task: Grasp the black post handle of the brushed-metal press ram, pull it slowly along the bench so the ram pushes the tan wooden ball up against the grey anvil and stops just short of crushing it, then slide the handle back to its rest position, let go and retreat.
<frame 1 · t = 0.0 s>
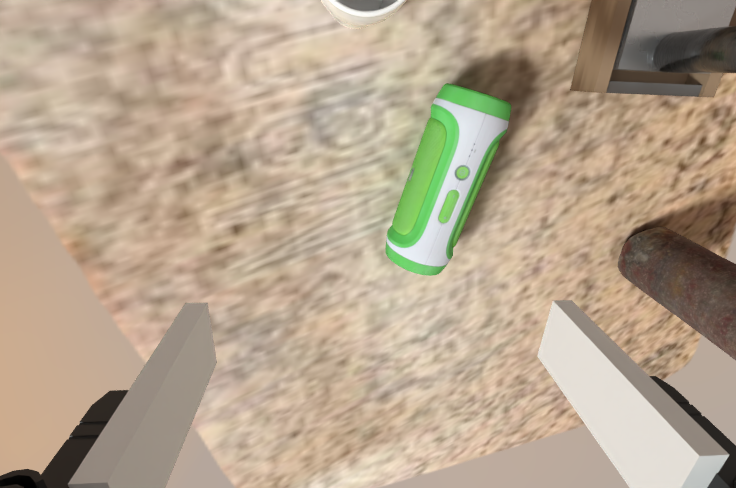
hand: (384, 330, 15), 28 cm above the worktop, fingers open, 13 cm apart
speaker: (433, 174, 41), on the worktop
ram: (721, 22, 29), point 8 cm above the worktop, slide at 0.0 cm
candle: (638, 250, 47), on the worktop
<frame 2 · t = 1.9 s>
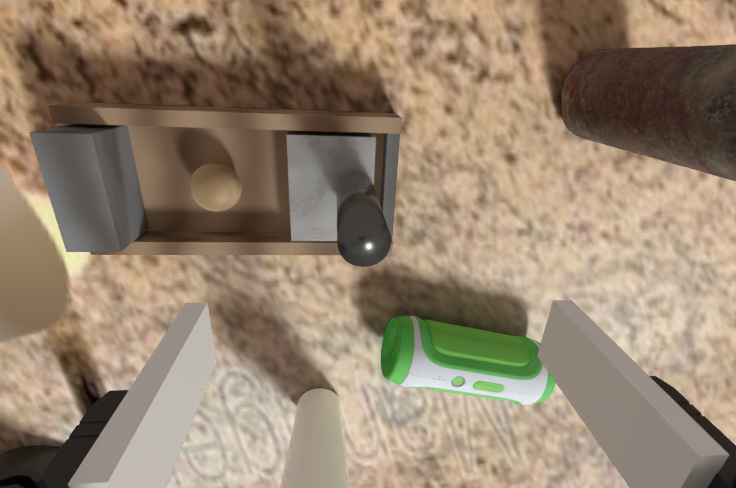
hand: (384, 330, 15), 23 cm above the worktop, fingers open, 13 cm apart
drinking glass: (319, 400, 47), on the worktop
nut: (216, 187, 32), point 3 cm above the worktop, touching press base
speaker: (455, 336, 45), on the worktop
ram: (331, 207, 28), point 8 cm above the worktop, slide at 0.0 cm
candle: (591, 96, 35), on the worktop
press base: (249, 177, 35), on the worktop
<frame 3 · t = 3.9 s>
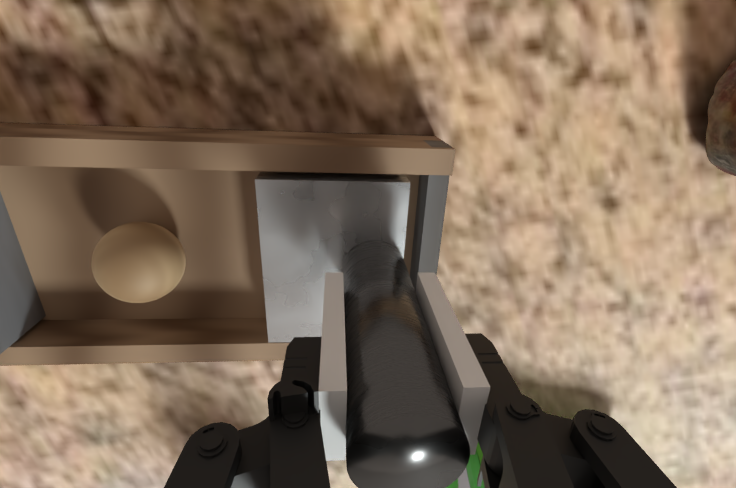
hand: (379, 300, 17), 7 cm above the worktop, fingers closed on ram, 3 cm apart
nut: (141, 262, 19), point 3 cm above the worktop, touching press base
speaker: (506, 438, 32), on the worktop
ram: (334, 315, 15), point 8 cm above the worktop, slide at 0.0 cm, touching gripper
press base: (204, 234, 22), on the worktop
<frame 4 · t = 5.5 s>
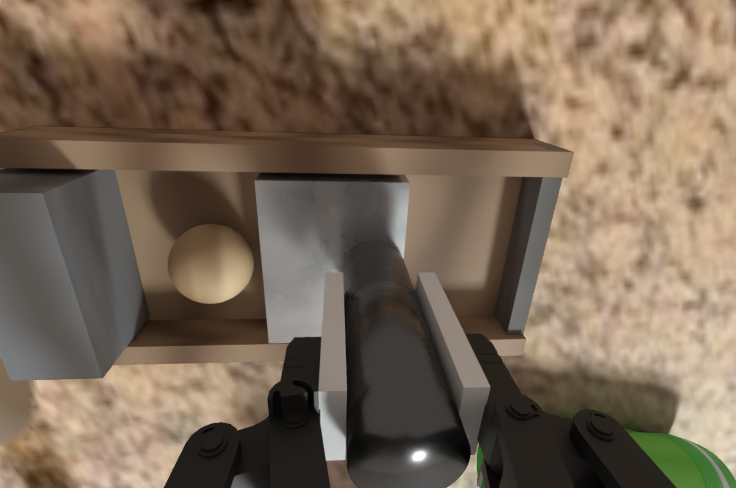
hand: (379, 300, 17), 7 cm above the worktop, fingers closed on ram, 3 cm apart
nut: (212, 263, 19), point 3 cm above the worktop, tilted 64°, touching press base
speaker: (572, 434, 33), on the worktop
ram: (334, 316, 15), point 8 cm above the worktop, slide at 5.7 cm, touching gripper
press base: (303, 236, 23), on the worktop
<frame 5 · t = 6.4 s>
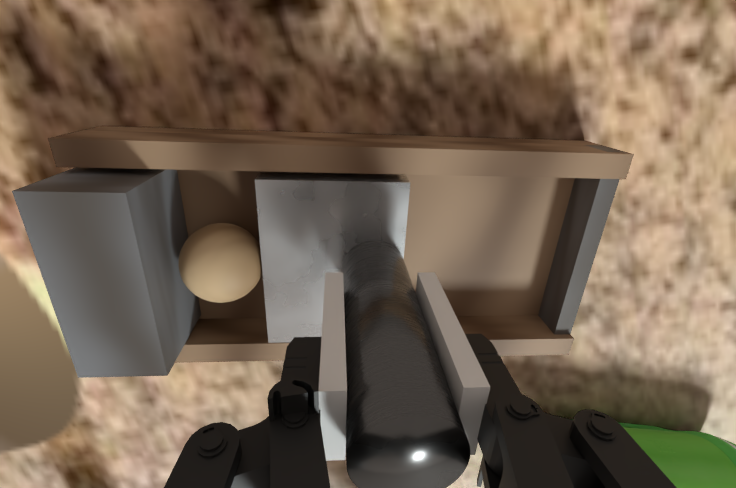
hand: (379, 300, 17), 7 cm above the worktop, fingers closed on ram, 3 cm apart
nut: (222, 262, 19), point 3 cm above the worktop, tilted 134°, touching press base
speaker: (604, 433, 33), on the worktop
ram: (334, 315, 15), point 8 cm above the worktop, slide at 8.6 cm, touching gripper
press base: (353, 236, 23), on the worktop
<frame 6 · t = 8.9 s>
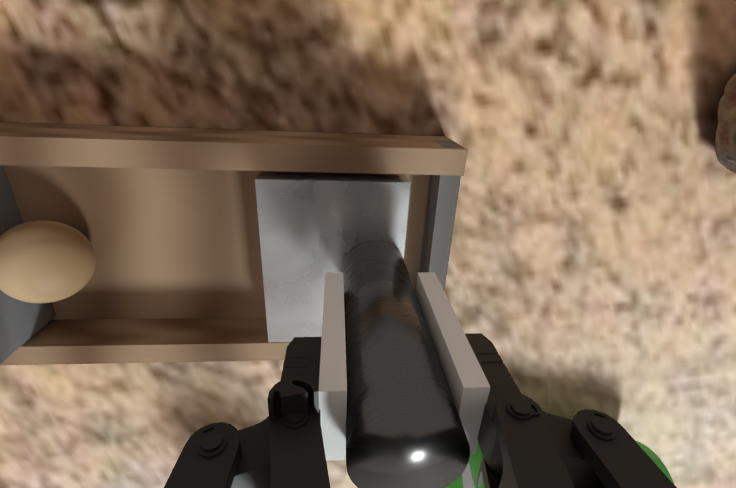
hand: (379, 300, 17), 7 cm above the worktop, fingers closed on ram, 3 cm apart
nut: (45, 261, 18), point 3 cm above the worktop, tilted 142°, touching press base
speaker: (514, 434, 32), on the worktop
ram: (334, 315, 15), point 8 cm above the worktop, slide at 0.5 cm, touching gripper
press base: (214, 234, 22), on the worktop
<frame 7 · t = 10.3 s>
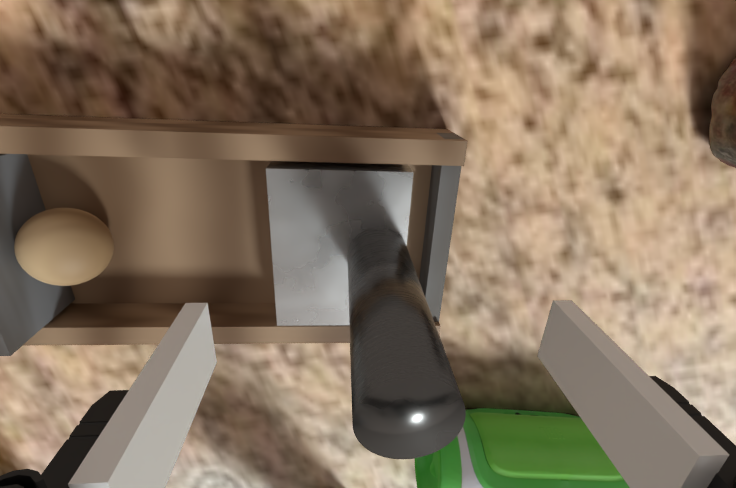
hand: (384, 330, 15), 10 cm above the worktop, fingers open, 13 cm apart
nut: (67, 246, 20), point 3 cm above the worktop, tilted 142°, touching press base
speaker: (514, 421, 33), on the worktop
ram: (340, 296, 16), point 8 cm above the worktop, slide at 0.5 cm
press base: (225, 223, 23), on the worktop
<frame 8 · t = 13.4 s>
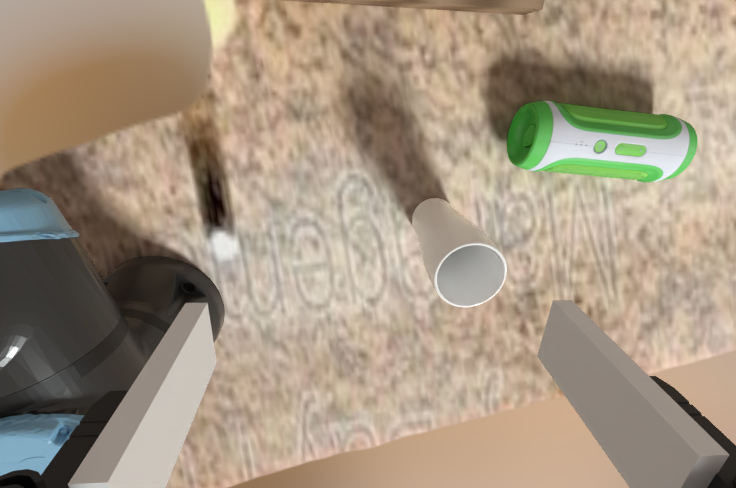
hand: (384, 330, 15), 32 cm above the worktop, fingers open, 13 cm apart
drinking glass: (431, 216, 47), on the worktop
speaker: (576, 137, 45), on the worktop
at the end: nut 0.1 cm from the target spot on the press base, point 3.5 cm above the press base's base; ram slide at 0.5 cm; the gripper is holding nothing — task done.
